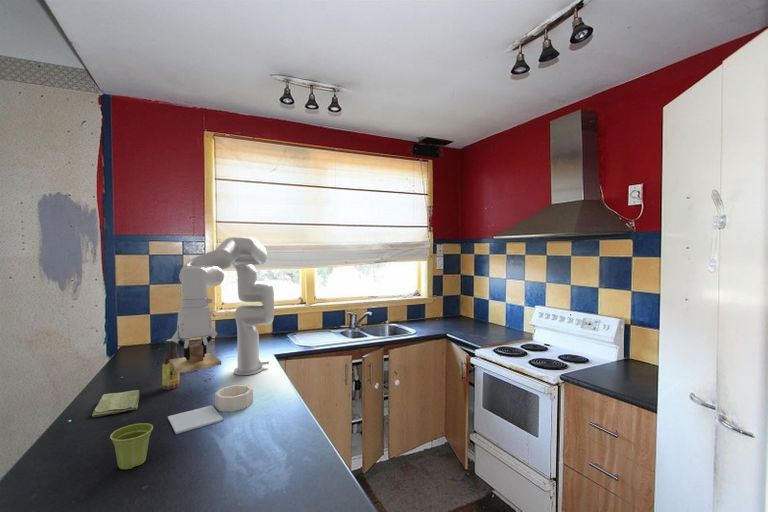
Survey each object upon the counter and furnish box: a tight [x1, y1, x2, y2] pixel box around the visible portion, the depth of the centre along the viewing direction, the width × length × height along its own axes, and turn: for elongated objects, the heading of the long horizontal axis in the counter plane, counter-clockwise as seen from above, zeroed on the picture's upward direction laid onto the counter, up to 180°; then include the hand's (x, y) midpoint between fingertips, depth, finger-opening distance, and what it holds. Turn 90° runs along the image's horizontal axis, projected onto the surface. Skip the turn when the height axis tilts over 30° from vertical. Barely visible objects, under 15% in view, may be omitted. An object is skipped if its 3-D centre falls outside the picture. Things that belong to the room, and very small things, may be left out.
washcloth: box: [91, 389, 140, 418], centre depth 133 cm, size 13×18×3 cm
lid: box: [170, 343, 222, 374], centre depth 122 cm, size 13×13×6 cm
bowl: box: [214, 384, 254, 413], centre depth 134 cm, size 12×12×5 cm
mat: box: [167, 404, 224, 435], centre depth 122 cm, size 14×14×1 cm
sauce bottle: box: [161, 338, 181, 391], centre depth 150 cm, size 7×6×20 cm
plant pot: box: [109, 422, 154, 470], centre depth 97 cm, size 9×9×9 cm
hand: (195, 357), depth 122 cm, fingers closed on lid, 4 cm apart
